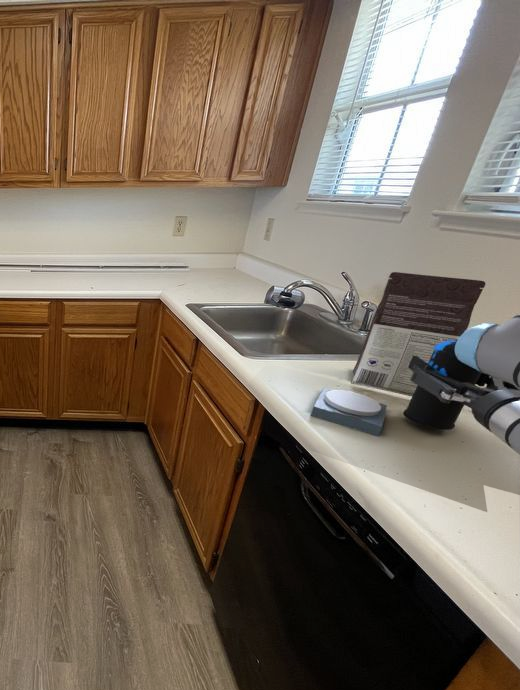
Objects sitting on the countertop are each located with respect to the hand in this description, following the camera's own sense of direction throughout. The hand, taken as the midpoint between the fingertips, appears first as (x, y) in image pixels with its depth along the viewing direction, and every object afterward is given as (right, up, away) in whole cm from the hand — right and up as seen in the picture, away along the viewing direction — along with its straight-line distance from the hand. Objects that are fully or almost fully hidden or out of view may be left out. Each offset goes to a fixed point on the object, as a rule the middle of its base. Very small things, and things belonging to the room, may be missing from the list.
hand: (437, 364), depth 88 cm
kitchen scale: (-15, -11, +5) cm, 20 cm away
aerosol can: (-1, -12, +1) cm, 12 cm away
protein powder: (+5, -5, +18) cm, 19 cm away
